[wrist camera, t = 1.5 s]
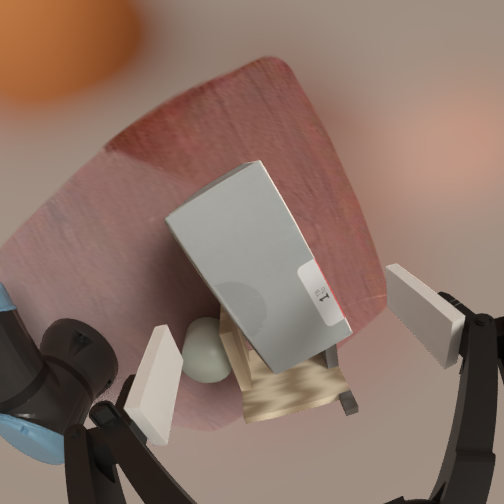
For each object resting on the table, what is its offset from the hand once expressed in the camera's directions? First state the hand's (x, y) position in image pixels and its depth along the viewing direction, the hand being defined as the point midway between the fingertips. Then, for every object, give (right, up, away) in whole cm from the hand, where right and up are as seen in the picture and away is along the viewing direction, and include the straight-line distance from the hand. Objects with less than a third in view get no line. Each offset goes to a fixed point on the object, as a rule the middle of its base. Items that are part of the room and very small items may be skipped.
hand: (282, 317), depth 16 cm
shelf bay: (+2, -7, +28) cm, 28 cm away
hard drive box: (-2, +7, +23) cm, 24 cm away
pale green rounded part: (-8, -9, +28) cm, 30 cm away
